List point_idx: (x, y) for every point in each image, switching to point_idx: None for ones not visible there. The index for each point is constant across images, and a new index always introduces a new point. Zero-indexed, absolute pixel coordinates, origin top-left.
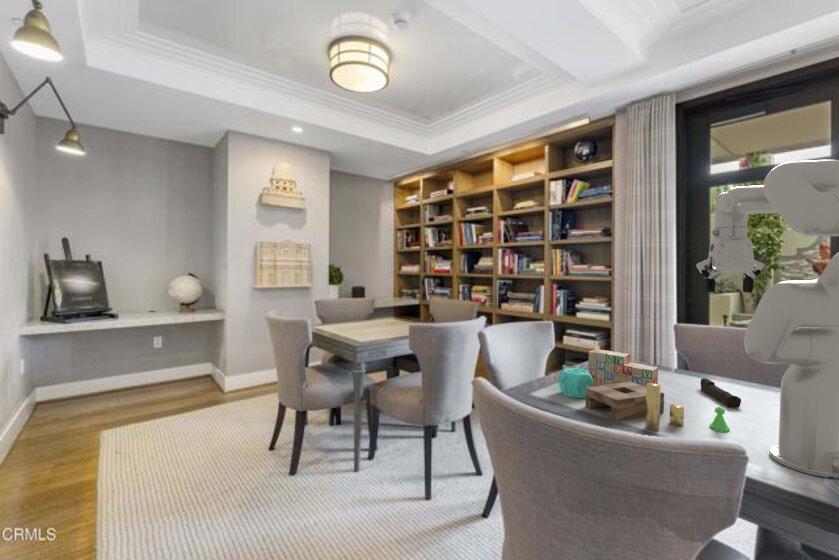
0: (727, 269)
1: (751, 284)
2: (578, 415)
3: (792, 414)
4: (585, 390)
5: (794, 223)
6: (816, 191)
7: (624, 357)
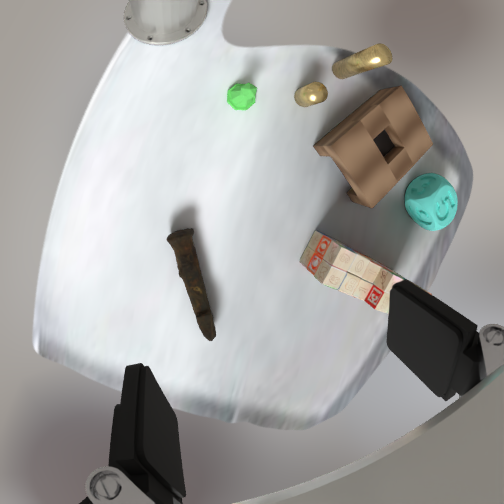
0: (493, 409)
1: (127, 412)
2: (418, 103)
3: None
4: (417, 185)
5: None
6: None
7: (389, 277)
